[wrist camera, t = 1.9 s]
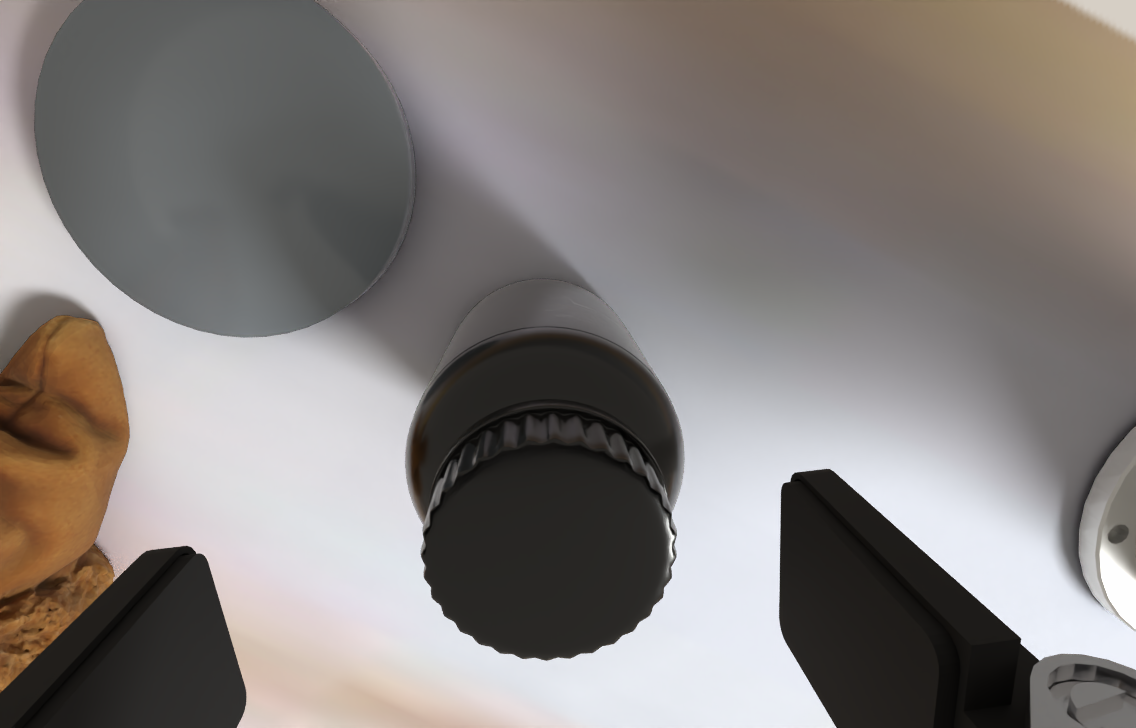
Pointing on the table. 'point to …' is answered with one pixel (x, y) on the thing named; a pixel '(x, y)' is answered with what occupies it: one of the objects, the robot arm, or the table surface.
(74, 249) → the table surface
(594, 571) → the supplement bottle
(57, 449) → the stuffed squirrel
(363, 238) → the slate plate
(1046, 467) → the table surface
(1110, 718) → the robot arm
